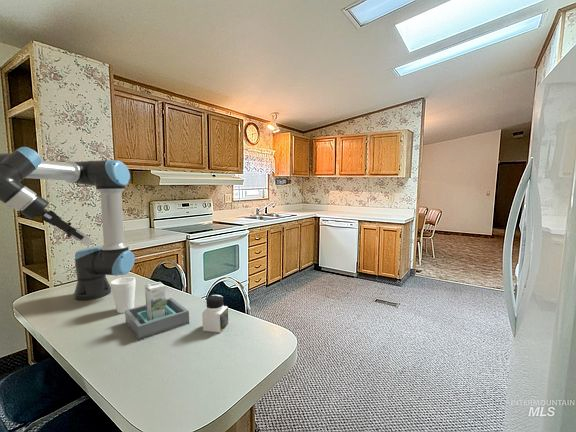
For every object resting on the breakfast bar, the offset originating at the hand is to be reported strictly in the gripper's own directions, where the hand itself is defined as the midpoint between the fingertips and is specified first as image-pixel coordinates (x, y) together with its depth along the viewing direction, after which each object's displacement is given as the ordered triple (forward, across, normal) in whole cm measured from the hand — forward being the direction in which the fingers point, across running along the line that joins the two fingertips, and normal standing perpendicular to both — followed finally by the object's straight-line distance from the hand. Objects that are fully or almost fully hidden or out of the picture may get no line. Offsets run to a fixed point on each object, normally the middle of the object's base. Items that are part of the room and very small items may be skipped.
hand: (87, 240), depth 111 cm
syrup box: (+35, +15, -10) cm, 40 cm away
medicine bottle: (+46, +34, -1) cm, 58 cm away
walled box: (+36, +15, -11) cm, 40 cm away
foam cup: (+32, -7, -15) cm, 36 cm away
